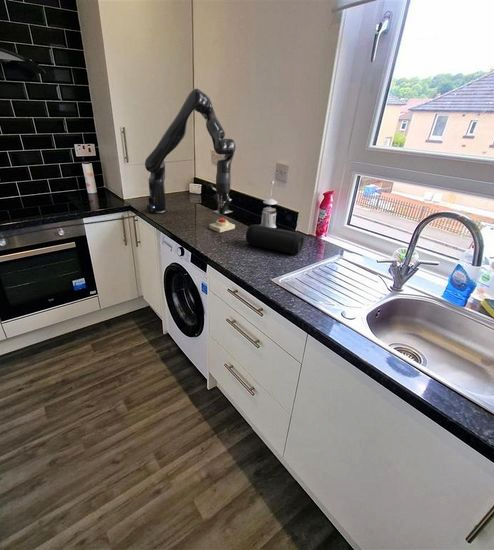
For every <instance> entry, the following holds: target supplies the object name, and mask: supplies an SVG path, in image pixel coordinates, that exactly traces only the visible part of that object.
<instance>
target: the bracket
mask: <svg viewBox="0 0 494 550" xmlns="http://www.w3.org/2000/svg"><path fill="white" fill-rule="evenodd" d="M212 212H214V213H216V214H218V215H221V214H220V213H219V206H218V205H217V210H212ZM233 212H234V211H233V210H230V209H229V206H228V207H225V213H224V214H223V215H225V214H230V213H233Z"/></svg>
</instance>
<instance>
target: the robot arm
mask: <svg viewBox="0 0 494 550" xmlns="http://www.w3.org/2000/svg"><path fill="white" fill-rule="evenodd" d="M193 111H194V112H197V113H199V114H200V115H201V116H202V117H203V118H204V120H205V128H206V130H207V132H208V134H209V136H210V138H211V140H212V141H211V142H212V146H213V150H214V152H215V153H216V154H217V155H224V156H223V157H222V158H219V159H218V160H217V162H216V175H215V177H216V178H215V189H216V191H215V192H216V193H215V194H213V199H214V201H215V204H216V206H217V207H218V206H219V213H220V214H219V215H225V214H226V213H225V207H228V208H229V206H230V205H231V203H232V201H233V199H232V198H230V191H231V184H232V173H231V172H232V162H233V158H234V155H235V152H236V142H235V140H234V139H232V138H225V137H226V132H225V129H224V128H223V126H222V124H221V123H220V121H219V119H218V117H217V115H216V113H215V110H214V107H213V103H212V101H211V98H210V97H209V96H208V95H207V93H205V92H203V91H201V89H199V88H194V89H192V90H191V91H190V92H189V93H188V95H187V97H186V98H185V100H184V102H183V104H182V105H181V108H180V109H179V111H178V113H177V114H176V115H175V117H174V119H173V121H171V123H170V125H169V126H168V128H167V129H166V130H165V132H164V134H163V135H162V137H161V139H159V142H158V143H157V145H156V146H155V148H154V149H153V150H152V152H151V153H150V154H149V155H148V156H147V157H146V158H145V161H144V167H145V170H146V171H147V172H149V173H150V175H149V177H148V191H149V193H148V194H149V196H148V203H147V204H146V207H145V208H143V209H142V210H141V211H140V212H138V213H137V214H135V215H130V216H129V215H128V216H125V217H119V218H112V219H104V220H97V221H90V222H89V221H88V222H81V223H73V224H66V225H59V226H52V227H46V228H40V229H33V230H29V231H23V232H18V233H14V234H8V235H5V236H0V240H3V239H8V238H12V237H17V236H21V235H27V234H32V233H37V232H38V233H39V232H43V231H48V230H49V231H50V230H55V229H62V228H69V227H77V226H85V225H92V224H100V223H108V222H114V221H120V220H121V221H122V220H126V219H132V218H135V217H138V216H140V215H141V214H142V213H144V212H145V211H147V210H148V211H149V212H150V213H152V214H154V215H156V214H163V213H167V206H166V187H165V179H166V163H165V159H166V157H168V155H169V154H170V153H172V152H173V151H174V150H175V149H176V148H177V147H178V146H179V145H180V143H181V142H182V141H183V139H184V138H185V137H186V134H187V127H188V121H189V118H190V117H191V114H192V113H193ZM224 213H225V214H224Z"/></svg>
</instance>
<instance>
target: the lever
mask: <svg viewBox="0 0 494 550" xmlns="http://www.w3.org/2000/svg"><path fill="white" fill-rule="evenodd" d="M207 189H208V190H213V191H215V192H217V191H216V187H214V185H213V184H212V183H209V184H207Z"/></svg>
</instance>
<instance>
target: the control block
mask: <svg viewBox="0 0 494 550" xmlns="http://www.w3.org/2000/svg"><path fill="white" fill-rule="evenodd" d="M208 228H209V229H211V230H213V231H215V232H217V233H223V232H227V231H232V230H235V229H236V224H234V223H232V222H229V221H228V220H227V219H226V222H224V223H221V222H219V219H216V221H215V222H213V223H209V224H208Z"/></svg>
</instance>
